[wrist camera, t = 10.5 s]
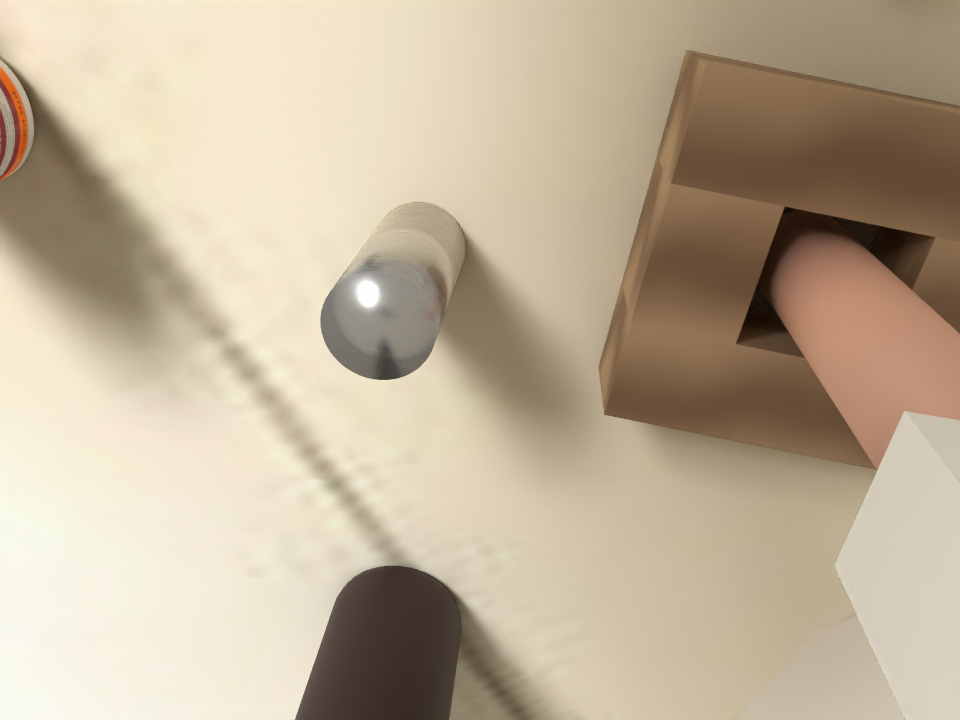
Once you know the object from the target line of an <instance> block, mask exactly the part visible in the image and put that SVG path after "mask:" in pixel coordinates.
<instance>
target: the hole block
mask: <svg viewBox="0 0 960 720" xmlns="http://www.w3.org/2000/svg"><path fill="white" fill-rule="evenodd" d="M784 207H790V208H795V209H799V210H804V211H809V212H814V213H819V214H824V215H829V216H834V217H839V218H844V219H849V220H854V221H858V222H863V223H868V224H873V225H878V226H881V228H880V231H879V233H878V236H877V238H876V240H875V243H874V245H873V248H872V250H871V253H872V254H873V255H874V256H875V257H876V258H877V259H878V260H879V261H880V262H881V263H883V264H884V265H885V266H886V267H887V268H888V269H889V270H890V271H891V272H892V273H894V274H895V275H896V276H897V277H898V278H899V279H900V280H901V281H902V282H903V283H905V284H906V285H907V286H908V287H909V288H910V289H911V290H912V291H913V292H914V293H916V294H917V295H918V296H919V297H920V298H921V299H922V300H923V301H924V302H925V303H927V304H928V305H929V306H930V307H931V308H932V309H933V310H934V311H935V312H936V313H937V314H939V315H940V316H941V317H942V318H943V319H944V320H945V321H946V322H947V323H948V324H950V325H951V326H952V327H953V328H954V329H955V330H956V331H957V332H958V333H959V334H960V106H956V105H951V104H946V103H941V102H936V101H932V100H927V99H922V98H917V97H912V96H907V95H902V94H897V93H892V92H888V91H883V90H878V89H873V88H868V87H863V86H858V85H853V84H849V83H844V82H839V81H834V80H829V79H824V78H819V77H814V76H809V75H805V74H800V73H795V72H790V71H785V70H780V69H775V68H770V67H766V66H761V65H756V64H751V63H746V62H741V61H736V60H731V59H726V58H722V57H717V56H712V55H707V54H702V53H697V52H692V51H686V54H685V58H684V62H683V65H682V69H681V73H680V76H679V80H678V83H677V87H676V91H675V94H674V98H673V101H672V105H671V109H670V112H669V116H668V119H667V123H666V127H665V130H664V134H663V137H662V141H661V145H660V148H659V152H658V155H657V159H656V163H655V166H654V170H653V173H652V177H651V181H650V184H649V188H648V191H647V195H646V199H645V202H644V206H643V209H642V213H641V217H640V220H639V224H638V227H637V231H636V235H635V238H634V242H633V246H632V249H631V253H630V256H629V260H628V264H627V267H626V271H625V274H624V278H623V282H622V285H621V289H620V292H619V296H618V300H617V303H616V307H615V310H614V314H613V318H612V321H611V325H610V328H609V332H608V336H607V339H606V343H605V346H604V350H603V354H602V357H601V361H600V364H599V373H600V382H601V391H602V399H603V408H604V415H609V416H614V417H619V418H624V419H629V420H634V421H639V422H644V423H649V424H654V425H659V426H664V427H669V428H673V429H678V430H683V431H688V432H693V433H698V434H703V435H708V436H713V437H718V438H723V439H728V440H733V441H738V442H743V443H748V444H753V445H758V446H763V447H768V448H773V449H778V450H783V451H788V452H793V453H798V454H803V455H808V456H813V457H818V458H823V459H828V460H833V461H838V462H843V463H848V464H853V465H858V466H863V467H868V468H873V469H876V468H875V466H874V465H873V463H872V462H871V460H870V458H869V457H868V455H867V454H866V452H865V451H864V449H863V448H862V446H861V444H860V443H859V441H858V440H857V438H856V437H855V435H854V433H853V432H852V430H851V429H850V427H849V426H848V424H847V423H846V421H845V419H844V418H843V416H842V415H841V413H840V412H839V410H838V408H837V407H836V405H835V404H834V402H833V401H832V399H831V398H830V396H829V394H828V393H827V391H826V390H825V388H824V387H823V385H822V383H821V382H820V380H819V379H818V377H817V376H816V374H815V373H814V371H813V369H812V368H811V366H810V365H809V363H808V362H807V360H806V358H805V357H804V355H803V354H802V352H801V351H800V349H799V348H798V346H797V344H796V343H795V341H794V340H793V338H792V337H791V335H790V333H789V332H788V330H787V329H786V327H785V326H784V324H783V323H782V321H781V319H780V318H779V316H778V315H777V314H772V313H767V312H762V311H757V310H752V309H748V308H749V306H750V303H751V300H752V297H753V294H754V292H755V289H756V286H757V283H758V280H759V277H760V275H761V272H762V269H763V266H764V263H765V261H766V258H767V255H768V252H769V249H770V246H771V244H772V241H773V238H774V235H775V232H776V229H777V227H778V224H779V221H780V218H781V215H782V213H783V210H784Z"/></svg>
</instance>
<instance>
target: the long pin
mask: <svg viewBox="0 0 960 720" xmlns="http://www.w3.org/2000/svg"><path fill="white" fill-rule="evenodd" d="M758 285H759V287H760V288H761V290H762V291H763V293H764V294H765V296H766V298H767V299H768V301H769V302H770V304H771V305H772V307H773V308H774V310H775V312H776V313H777V315H778V316H779V318H780V319H781V321H782V323H783V324H784V326H785V327H786V329H787V330H788V332H789V333H790V335H791V337H792V338H793V340H794V341H795V343H796V344H797V346H798V348H799V349H800V351H801V352H802V354H803V355H804V357H805V358H806V360H807V362H808V363H809V365H810V366H811V368H812V369H813V371H814V373H815V374H816V376H817V377H818V379H819V380H820V382H821V383H822V385H823V387H824V388H825V390H826V391H827V393H828V394H829V396H830V398H831V399H832V401H833V402H834V404H835V405H836V407H837V408H838V410H839V412H840V413H841V415H842V416H843V418H844V419H845V421H846V423H847V424H848V426H849V427H850V429H851V430H852V432H853V433H854V435H855V437H856V438H857V440H858V441H859V443H860V444H861V446H862V448H863V449H864V451H865V452H866V454H867V455H868V457H869V458H870V460H871V462H872V463H873V465H874V466H875V468H876V469H877V470H878V468H879V466H880V463H881V461H882V459H883V457H884V455H885V452H886V450H887V448H888V446H889V444H890V441H891V439H892V437H893V435H894V433H895V430H896V428H897V426H898V424H899V422H900V419H901V417H902V415H903V413H904V411H907V412H913V413H919V414H925V415H931V416H937V417H943V418H949V419H955V420H960V334H959V333H958V332H957V331H956V330H955V329H954V328H953V327H952V326H951V325H950V324H948V323H947V322H946V321H945V320H944V319H943V318H942V317H941V316H940V315H939V314H937V313H936V312H935V311H934V310H933V309H932V308H931V307H930V306H929V305H928V304H927V303H925V302H924V301H923V300H922V299H921V298H920V297H919V296H918V295H917V294H916V293H914V292H913V291H912V290H911V289H910V288H909V287H908V286H907V285H906V284H905V283H903V282H902V281H901V280H900V279H899V278H898V277H897V276H896V275H895V274H894V273H892V272H891V271H890V270H889V269H888V268H887V267H886V266H885V265H884V264H883V263H881V262H880V261H879V260H878V259H877V258H876V257H875V256H874V255H873V254H872V253H870V252H869V251H868V250H867V249H866V248H865V247H864V246H863V245H862V244H861V243H860V242H858V241H857V240H856V239H855V238H854V237H853V236H852V235H851V234H850V233H849V232H847V231H846V230H845V229H844V228H843V227H842V226H841V225H840V224H839V223H838V222H836V221H835V220H834V219H833V218H832V217H830V216H829V215H824V214H819V213H814V212H809V211H804V210H794V211H790V212H787V213H784V214H782V215H781V218H780V221H779V224H778V227H777V229H776V232H775V235H774V238H773V241H772V244H771V246H770V249H769V252H768V255H767V258H766V261H765V263H764V266H763V269H762V272H761V275H760V277H759V280H758Z"/></svg>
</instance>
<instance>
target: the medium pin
mask: <svg viewBox="0 0 960 720" xmlns="http://www.w3.org/2000/svg"><path fill="white" fill-rule="evenodd" d="M465 251H466V246H465V239H464V235H463V232H462V230H461V228H460V226H459V225H458V223H457V222H456V220H455V219H454V218H453V217H452V216H451V215H450V214H449V213H448V212H446V211H445V210H443V209H442V208H440V207H438V206H435V205H432V204H429V203H423V202H412V203H407V204H404V205H401V206H399V207H397V208H395V209H393V210H392V211H391V212H390V213H388V214H387V215H386V217H385V218H384V219H383V220H382V222H381V223H380V224H379V226H378V227H377V229H376V230H375V231H374V233H373V234H372V235H371V237H370V238H369V240H368V241H367V242H366V244H365V245H364V246H363V248H362V249H361V250H360V252H359V253H358V255H357V256H356V257H355V259H354V260H353V261H352V263H351V264H350V266H349V267H348V268H347V270H346V271H345V272H344V274H343V275H342V277H341V278H340V279H339V281H338V282H337V283H336V285H335V286H334V288H333V289H332V290H331V292H330V293H329V295H328V296H327V298H326V300H325V302H324V304H323V308H322V311H321V330H322V335H323V338H324V341H325V343H326V345H327V347H328V349H329V350H330V352H331V353H332V354H333V356H334V357H335V358H336V359H337V360H338V361H339V362H340V363H341V364H342V365H343V366H345V367H346V368H347V369H349V370H351V371H352V372H354V373H356V374H358V375H361V376H364V377H367V378H371V379H378V380H389V379H396V378H400V377H403V376H406V375H408V374H410V373H412V372H413V371H415V370H416V369H418V368H419V367H420V366H421V365H422V364H423V363H424V362H425V361H426V359H427V358H428V357H429V355H430V353H431V351H432V348H433V346H434V343H435V340H436V337H437V334H438V332H439V329H440V326H441V323H442V320H443V318H444V315H445V312H446V309H447V306H448V304H449V301H450V298H451V295H452V292H453V290H454V287H455V284H456V281H457V278H458V276H459V273H460V270H461V267H462V264H463V262H464V258H465Z"/></svg>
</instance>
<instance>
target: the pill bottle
mask: <svg viewBox="0 0 960 720" xmlns="http://www.w3.org/2000/svg"><path fill="white" fill-rule="evenodd" d="M33 139H34V120H33V114H32V110H31V106H30V103H29V100H28V97H27V95H26V93H25V91H24V89H23V87H22V85H21V84H20V82H19V80H18V79H17V77H16V76H15V75H14V73H13V72H12V71H11V70H10V69H9V67H8V66H7V65H6V64H5V63H4V62H3V61H2V60H1V59H0V181H1V180H3V179H5V178H7V177H8V176H10V175H12V174H13V173H14V172H16V171H17V170H18V169H19V168H20V167H21V166H22V164H23V163H24V162H25V160H26V158H27V157H28V155H29V152H30V150H31V147H32V144H33Z"/></svg>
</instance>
